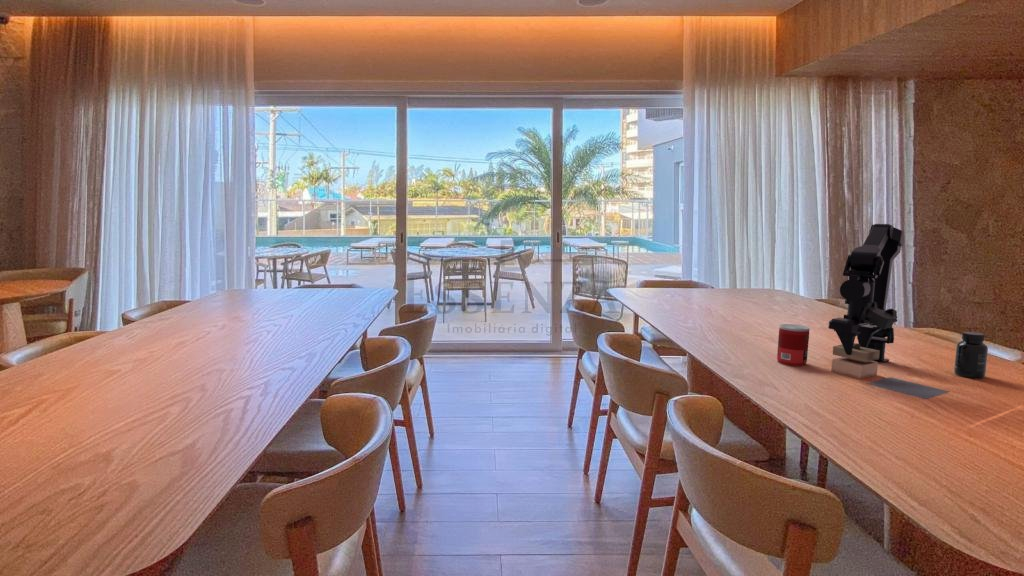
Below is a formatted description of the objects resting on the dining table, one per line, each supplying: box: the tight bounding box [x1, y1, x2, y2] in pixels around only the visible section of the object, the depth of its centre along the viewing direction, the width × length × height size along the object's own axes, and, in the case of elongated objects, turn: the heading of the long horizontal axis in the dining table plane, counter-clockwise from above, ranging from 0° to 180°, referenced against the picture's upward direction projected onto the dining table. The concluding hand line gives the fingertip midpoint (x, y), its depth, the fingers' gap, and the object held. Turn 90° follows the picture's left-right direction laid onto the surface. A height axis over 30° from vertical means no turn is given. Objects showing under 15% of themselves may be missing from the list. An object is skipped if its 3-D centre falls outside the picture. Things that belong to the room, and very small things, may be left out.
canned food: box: [776, 323, 810, 367], centre depth 170 cm, size 8×8×11 cm
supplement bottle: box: [953, 331, 989, 379], centre depth 159 cm, size 7×7×12 cm
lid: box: [832, 342, 880, 362], centre depth 159 cm, size 6×9×4 cm
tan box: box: [830, 356, 879, 380], centre depth 159 cm, size 8×8×4 cm
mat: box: [865, 376, 951, 400], centre depth 147 cm, size 12×14×1 cm
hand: (855, 353), depth 159 cm, fingers closed on lid, 6 cm apart
